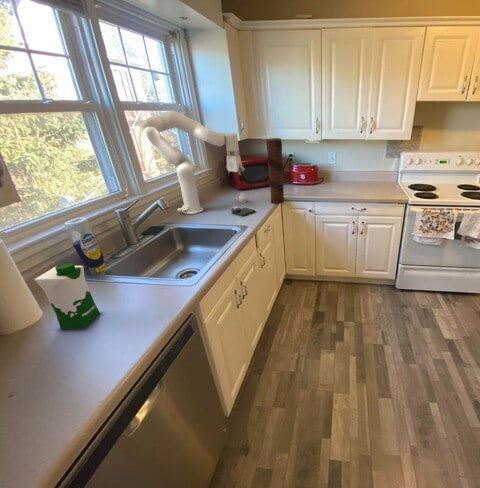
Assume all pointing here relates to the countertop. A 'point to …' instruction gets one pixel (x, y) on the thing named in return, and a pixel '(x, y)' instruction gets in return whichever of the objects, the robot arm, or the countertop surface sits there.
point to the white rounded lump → (242, 198)
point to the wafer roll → (275, 169)
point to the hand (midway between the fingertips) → (236, 180)
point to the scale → (242, 211)
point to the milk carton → (69, 296)
